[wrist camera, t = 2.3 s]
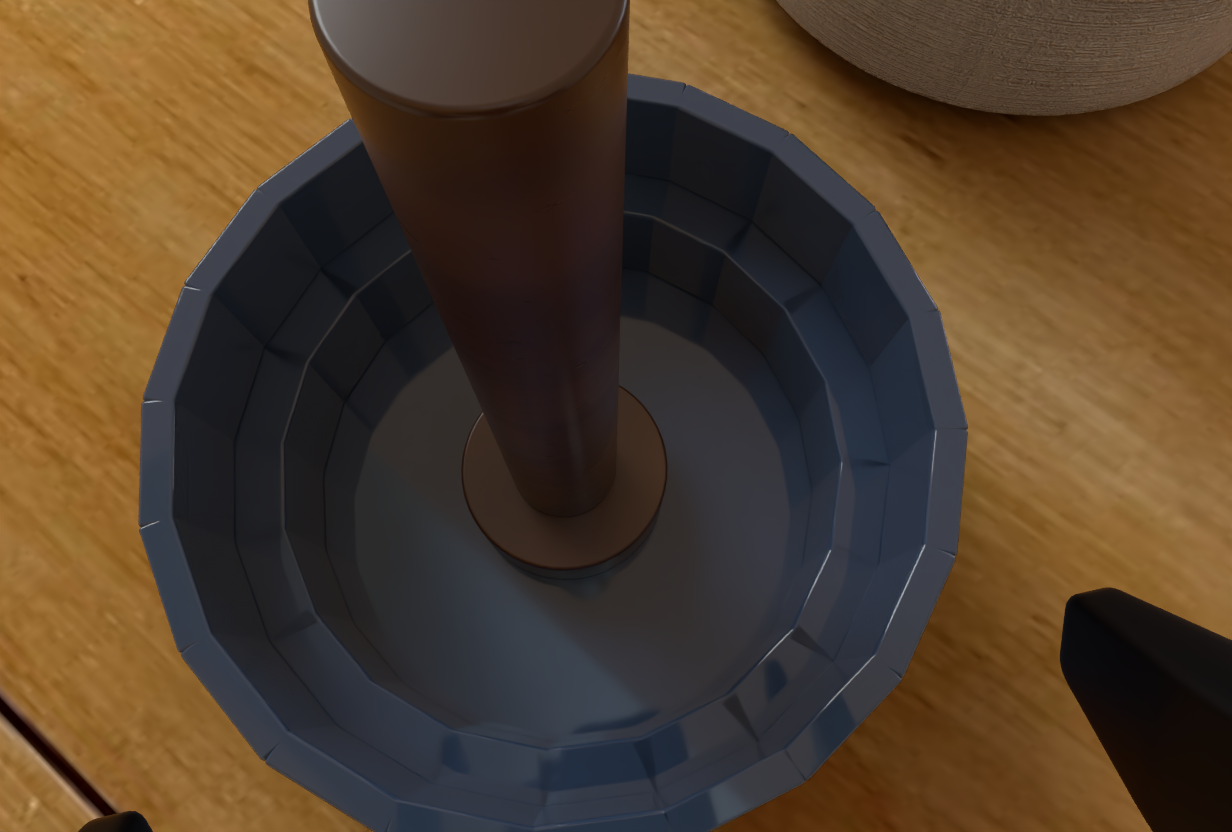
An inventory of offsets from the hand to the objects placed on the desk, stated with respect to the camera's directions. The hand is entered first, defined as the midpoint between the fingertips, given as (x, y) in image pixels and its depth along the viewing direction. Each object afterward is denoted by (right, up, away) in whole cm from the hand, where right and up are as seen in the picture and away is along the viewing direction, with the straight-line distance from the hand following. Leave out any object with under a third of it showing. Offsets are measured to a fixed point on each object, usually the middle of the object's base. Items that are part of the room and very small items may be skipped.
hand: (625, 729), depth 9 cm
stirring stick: (-1, +1, +12) cm, 12 cm away
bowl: (-1, +1, +13) cm, 13 cm away
